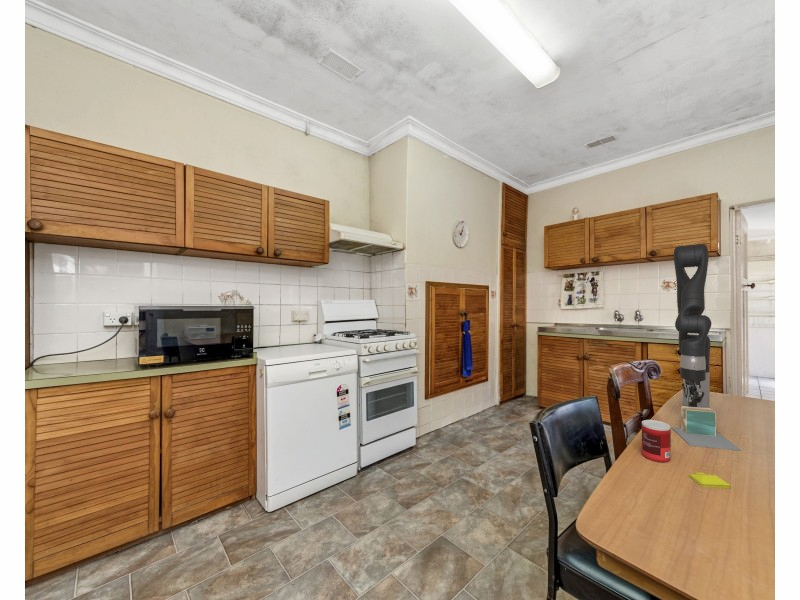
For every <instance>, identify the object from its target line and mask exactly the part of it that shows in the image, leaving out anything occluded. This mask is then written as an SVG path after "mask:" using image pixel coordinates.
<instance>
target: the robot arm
mask: <svg viewBox="0 0 800 600" xmlns="http://www.w3.org/2000/svg"><path fill="white" fill-rule="evenodd" d="M673 249H674V250H673V263H674V264H673V265H674V270H675V279H676V305H677V317H676V319H675V322H674V327H675V329H676V331H677V332H678V350H679V352H680V359H679V367H680V368H679V373H680V374H679V376H680V378H681V379H682V383H681V387H682V406H686V407H699V408H710V397H711V395H710V389H711V388H710V386H711V385H710V382H711V381H710V374H711V373H710V372H711V371H710V370H711V369H710V356H711V355H710V354H711V340H710V337H709V336H708V334H709V332H710V330H711V328H712V320H711V318H710V317H709V316H708V315H704V314H703V313H704V311H705V310H706V309H705V308H706V307H705V306H706V305H705V304H706V303H705V300H706V299H705V288H706V287H705V286H706V280H707V274H708V267H709V256H710V255H709V249H708V246H707V245H706V244H705V243H699V244H696V243H695V244H686V245H679V246H676V247H675V248H673ZM695 267H697V269H696V271H695V272H694V274H693V275H692V276H691V277H689V275H688V273H687V271H686V269H685V268H695Z"/></svg>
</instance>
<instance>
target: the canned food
mask: <svg viewBox="0 0 800 600" xmlns="http://www.w3.org/2000/svg"><path fill="white" fill-rule="evenodd" d="M671 430H672V428H671V425H670V424H669V423H666V422H664V421H660V420H654V419H645V420H642V421H641V455H642V456H643V457H644V458H645V459H646V460H648V461H652V462H656V463H660V464H662V463H665V462H666V463H669V462H670V461H671V456H672V455H671V448H672V445H671V443H672V440H671V439H672V438H671V436H672V432H671Z"/></svg>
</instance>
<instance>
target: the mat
mask: <svg viewBox="0 0 800 600" xmlns="http://www.w3.org/2000/svg"><path fill="white" fill-rule="evenodd" d="M670 428H671V430H672V431H674V432H675V433H676V434H677V435H678V436H679V437H680V438H681V439H682V440H683V441H685V442H686V443H687V445H689V446H690V447H700V448H701V447H702V448H709V449H719V450H720V449H721V450H729V451H742V449H741V448H740V447H738V445H735V443H733V442H731V440H729V439H728V438H726V437H725V436H724V435H722V434H721V433H719V432H718V431H717V430H716V436H707V435H696V434H686V433H685V432H684V431H683V430H681V427H677V426H670Z"/></svg>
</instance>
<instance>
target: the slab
mask: <svg viewBox="0 0 800 600" xmlns="http://www.w3.org/2000/svg"><path fill="white" fill-rule="evenodd" d="M680 408H681V409H680V411H681V412H680V413H681V414H680V417H681V419H680V425H681V427H680V428H681V430H683V431H684V432H685V433H686V434H696V435H707V436H716V431H717V430H716V429H717V427H716V426H717V411H715V410H714V409H712V408H710V407H709V408H699V407H686V406H683V405H682V406H681V407H680Z"/></svg>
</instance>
